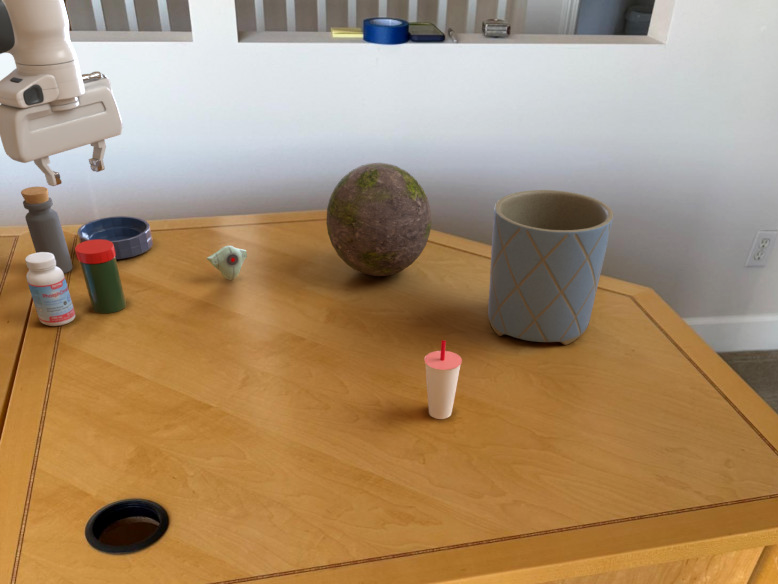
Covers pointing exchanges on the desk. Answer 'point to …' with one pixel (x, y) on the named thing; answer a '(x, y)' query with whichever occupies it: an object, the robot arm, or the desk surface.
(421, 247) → the decorative stone
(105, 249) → the cap
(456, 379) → the cup
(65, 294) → the pill bottle
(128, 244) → the bowl
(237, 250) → the robot head
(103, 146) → the robot arm
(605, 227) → the planter
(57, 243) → the bottle
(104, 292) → the green jar
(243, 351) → the desk surface
